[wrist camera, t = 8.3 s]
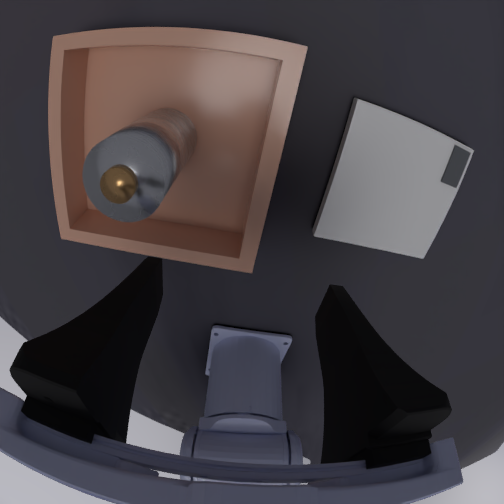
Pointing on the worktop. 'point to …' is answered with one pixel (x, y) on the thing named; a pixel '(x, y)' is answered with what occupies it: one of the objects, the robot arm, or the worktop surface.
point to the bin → (206, 124)
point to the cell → (139, 164)
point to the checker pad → (390, 182)
